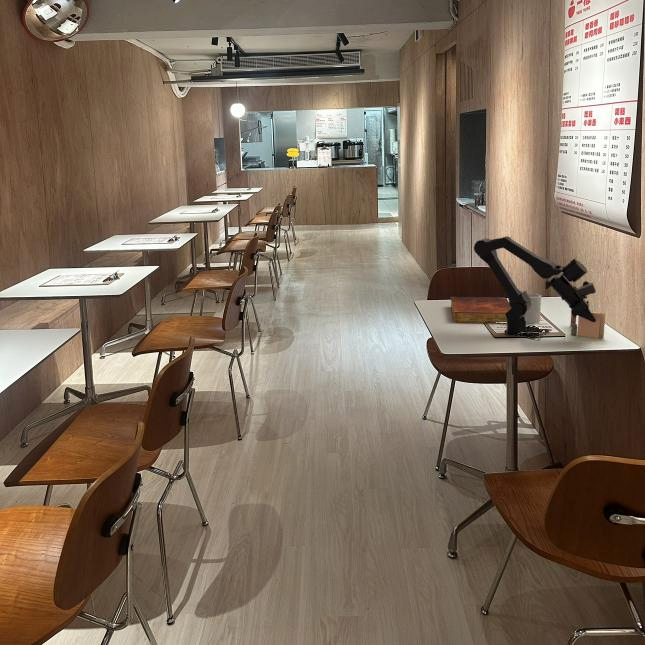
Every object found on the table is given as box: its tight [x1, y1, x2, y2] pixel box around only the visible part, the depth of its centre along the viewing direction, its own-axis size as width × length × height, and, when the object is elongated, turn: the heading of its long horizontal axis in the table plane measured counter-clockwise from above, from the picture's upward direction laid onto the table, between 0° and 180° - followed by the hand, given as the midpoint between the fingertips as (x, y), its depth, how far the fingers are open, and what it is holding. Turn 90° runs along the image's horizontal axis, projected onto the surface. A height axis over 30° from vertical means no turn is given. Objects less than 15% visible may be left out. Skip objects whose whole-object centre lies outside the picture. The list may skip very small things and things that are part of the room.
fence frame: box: [569, 313, 578, 336], centre depth 305 cm, size 2×16×10 cm, turn 164°
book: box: [450, 296, 511, 324], centre depth 334 cm, size 30×24×5 cm
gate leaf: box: [577, 311, 606, 339], centre depth 295 cm, size 2×9×9 cm, turn 54°
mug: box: [524, 292, 542, 325], centre depth 322 cm, size 12×8×11 cm
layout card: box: [564, 325, 606, 345], centre depth 300 cm, size 14×25×1 cm, turn 164°
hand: (595, 321), depth 292 cm, fingers closed
